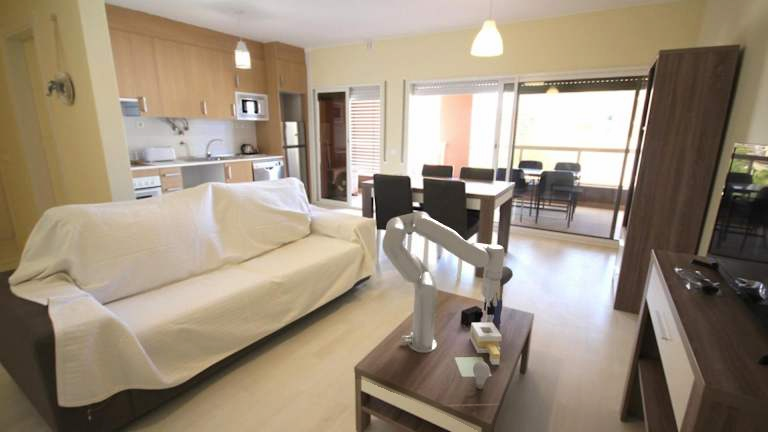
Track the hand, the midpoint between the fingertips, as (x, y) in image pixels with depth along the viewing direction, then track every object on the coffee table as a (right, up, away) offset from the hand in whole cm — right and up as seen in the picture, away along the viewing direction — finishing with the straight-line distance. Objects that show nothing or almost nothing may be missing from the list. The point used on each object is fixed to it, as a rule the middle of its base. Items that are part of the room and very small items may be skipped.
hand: (488, 312), depth 155 cm
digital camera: (-2, -12, +24) cm, 27 cm away
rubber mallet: (+10, -13, +22) cm, 28 cm away
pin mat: (-10, -20, -10) cm, 24 cm away
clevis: (0, -18, +1) cm, 18 cm away
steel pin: (0, -4, +1) cm, 4 cm away
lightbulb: (-10, -23, -22) cm, 33 cm away
